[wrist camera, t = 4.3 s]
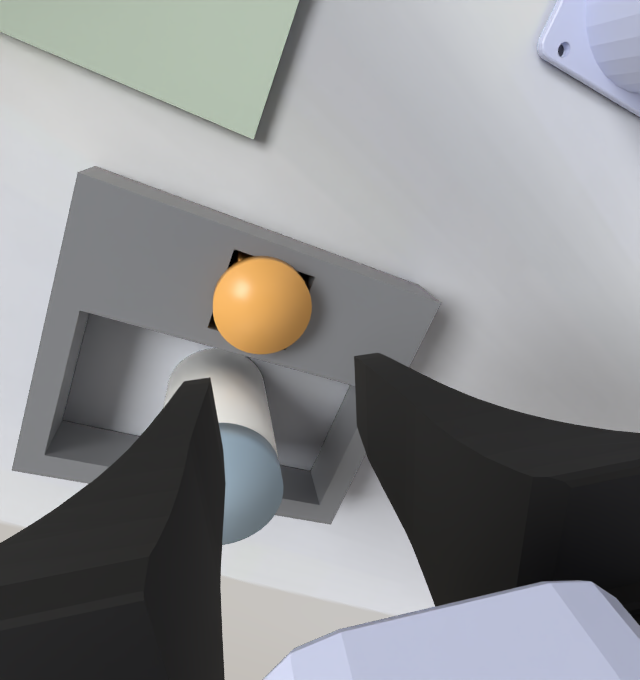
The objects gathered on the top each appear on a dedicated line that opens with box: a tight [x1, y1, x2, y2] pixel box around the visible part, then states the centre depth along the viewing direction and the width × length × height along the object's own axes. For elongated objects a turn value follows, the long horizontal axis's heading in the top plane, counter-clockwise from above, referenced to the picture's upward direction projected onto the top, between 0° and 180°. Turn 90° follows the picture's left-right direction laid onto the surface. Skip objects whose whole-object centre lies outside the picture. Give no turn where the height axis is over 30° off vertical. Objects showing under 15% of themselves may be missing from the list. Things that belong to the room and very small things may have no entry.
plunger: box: [213, 250, 312, 354], centre depth 19 cm, size 4×4×3 cm
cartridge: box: [163, 348, 283, 545], centre depth 19 cm, size 4×4×7 cm
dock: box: [12, 166, 441, 524], centre depth 21 cm, size 14×12×2 cm
